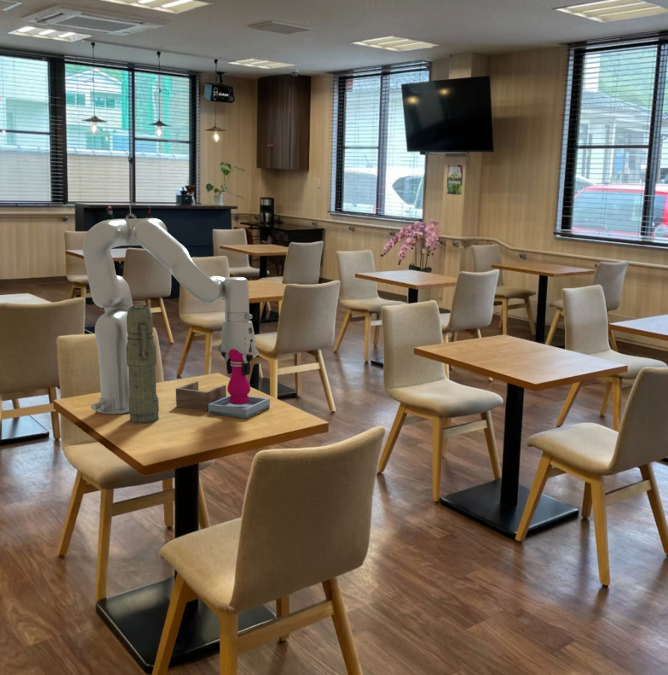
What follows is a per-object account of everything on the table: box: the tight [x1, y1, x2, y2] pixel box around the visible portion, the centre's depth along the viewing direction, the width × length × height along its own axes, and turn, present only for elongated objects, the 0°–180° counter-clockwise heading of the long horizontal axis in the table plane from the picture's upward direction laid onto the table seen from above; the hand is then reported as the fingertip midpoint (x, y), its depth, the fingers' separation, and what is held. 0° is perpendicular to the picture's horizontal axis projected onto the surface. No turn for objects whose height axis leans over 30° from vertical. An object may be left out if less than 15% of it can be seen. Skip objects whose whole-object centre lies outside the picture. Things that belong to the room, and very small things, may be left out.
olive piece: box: [126, 304, 160, 425], centre depth 243 cm, size 9×12×35 cm
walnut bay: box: [175, 380, 227, 412], centre depth 262 cm, size 11×12×6 cm
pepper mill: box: [226, 349, 251, 405], centre depth 254 cm, size 7×7×20 cm
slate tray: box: [208, 394, 271, 420], centre depth 256 cm, size 14×14×3 cm
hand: (238, 373), depth 254 cm, fingers closed on pepper mill, 5 cm apart
